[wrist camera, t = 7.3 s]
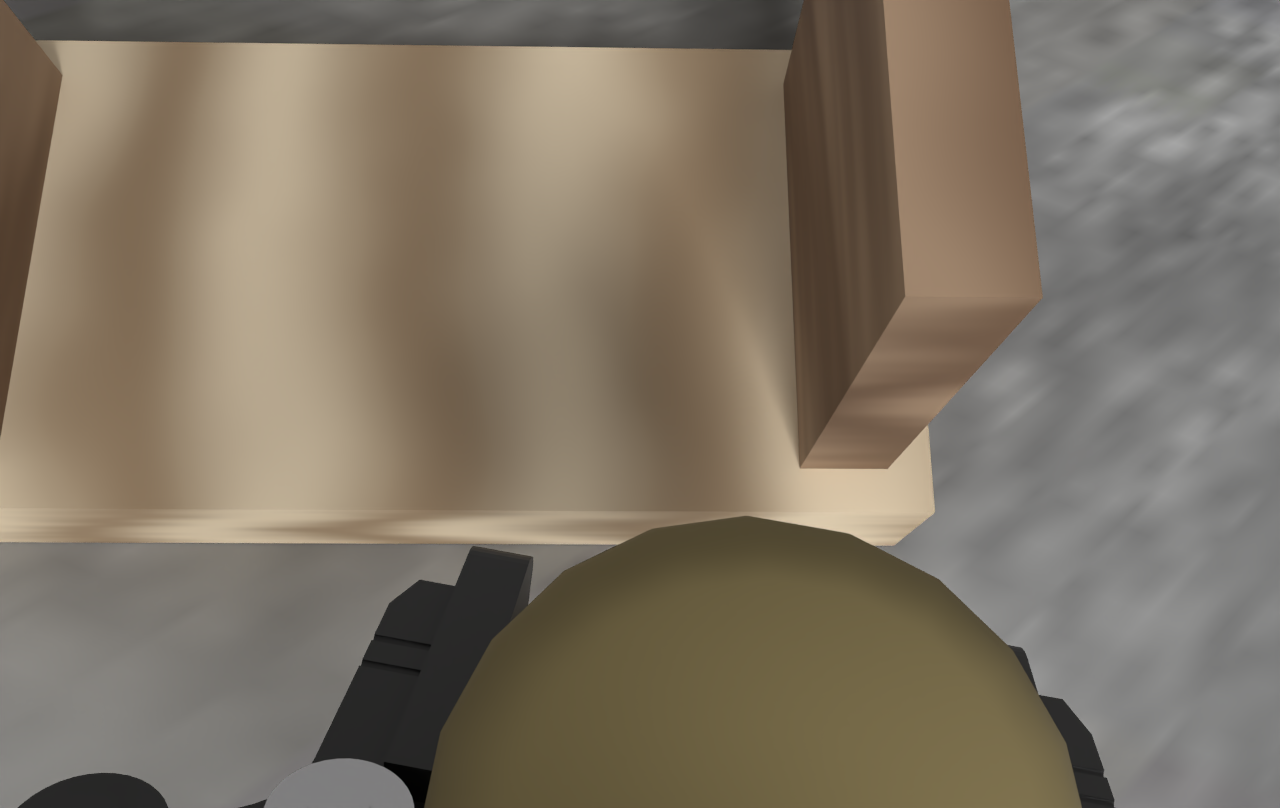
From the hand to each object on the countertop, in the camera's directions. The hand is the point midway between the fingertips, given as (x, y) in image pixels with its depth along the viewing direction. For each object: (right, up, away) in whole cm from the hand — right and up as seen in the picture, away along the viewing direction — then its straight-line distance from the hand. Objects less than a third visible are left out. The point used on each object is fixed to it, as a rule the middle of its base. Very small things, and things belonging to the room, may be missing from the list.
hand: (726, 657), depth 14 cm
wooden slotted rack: (-6, +5, +18) cm, 20 cm away
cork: (0, -3, +5) cm, 6 cm away
